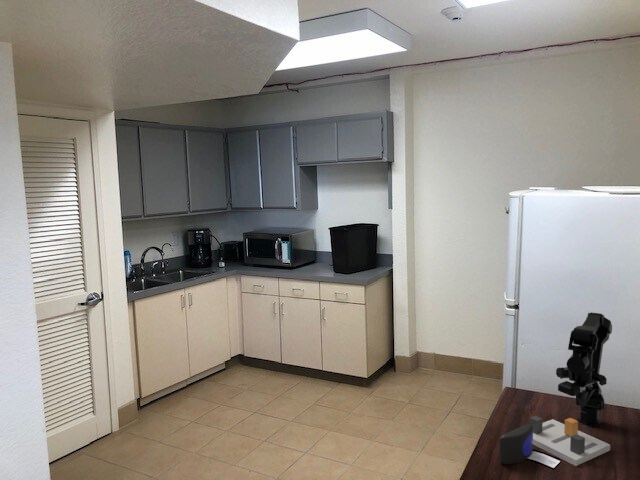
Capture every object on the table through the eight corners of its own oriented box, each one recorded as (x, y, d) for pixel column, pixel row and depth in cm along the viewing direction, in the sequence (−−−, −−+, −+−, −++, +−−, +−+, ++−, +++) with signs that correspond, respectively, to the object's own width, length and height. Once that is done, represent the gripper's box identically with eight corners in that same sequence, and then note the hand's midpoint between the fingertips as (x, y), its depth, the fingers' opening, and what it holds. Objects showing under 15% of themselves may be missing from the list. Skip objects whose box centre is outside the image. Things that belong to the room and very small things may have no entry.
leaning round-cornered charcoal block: (509, 469, 165) (510, 441, 164) (497, 463, 169) (497, 435, 168) (540, 453, 174) (541, 426, 173) (528, 447, 178) (528, 421, 177)
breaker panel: (552, 424, 194) (552, 406, 193) (610, 450, 174) (610, 430, 174) (519, 437, 185) (519, 418, 184) (575, 466, 166) (576, 445, 165)
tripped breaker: (569, 431, 183) (570, 417, 183) (577, 434, 181) (578, 421, 180) (564, 433, 182) (564, 419, 181) (572, 437, 179) (572, 423, 179)
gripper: (579, 352, 193) (578, 392, 195) (544, 362, 184) (544, 404, 186) (608, 361, 183) (606, 403, 185) (573, 373, 174) (572, 417, 176)
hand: (581, 406), depth 183 cm, fingers closed
